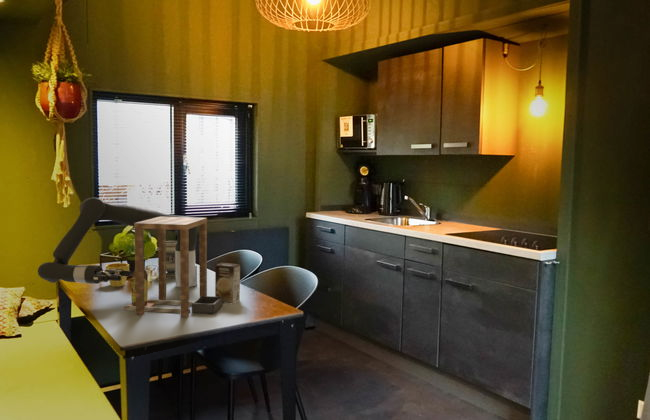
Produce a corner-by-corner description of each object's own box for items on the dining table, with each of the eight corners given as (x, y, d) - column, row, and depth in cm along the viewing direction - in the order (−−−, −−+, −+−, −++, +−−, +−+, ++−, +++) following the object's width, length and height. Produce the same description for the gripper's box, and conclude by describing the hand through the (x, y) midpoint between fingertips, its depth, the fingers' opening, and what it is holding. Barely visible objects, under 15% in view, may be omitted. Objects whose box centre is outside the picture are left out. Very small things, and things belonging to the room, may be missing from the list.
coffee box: (214, 301, 236) (214, 264, 234) (221, 298, 242) (221, 262, 240) (233, 304, 233) (233, 266, 231) (240, 300, 239) (240, 263, 237)
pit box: (191, 313, 218) (191, 303, 218) (201, 305, 230) (201, 295, 230) (213, 314, 217) (213, 304, 217) (222, 306, 229) (222, 296, 229)
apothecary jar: (154, 276, 282) (153, 242, 281) (171, 272, 293) (171, 239, 291) (170, 279, 276) (170, 244, 274) (188, 275, 286) (188, 241, 285)
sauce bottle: (128, 307, 224) (128, 258, 222) (136, 303, 230) (135, 255, 228) (143, 307, 223) (143, 259, 221) (150, 303, 229) (150, 256, 227)
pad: (124, 309, 222) (124, 308, 222) (135, 302, 232) (134, 301, 232) (145, 310, 221) (145, 309, 221) (155, 303, 231) (155, 302, 231)
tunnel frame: (116, 314, 214) (114, 222, 211) (143, 298, 239) (142, 215, 236) (186, 317, 212) (186, 224, 208) (207, 301, 236) (207, 217, 233)
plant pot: (118, 288, 256) (118, 267, 255) (101, 286, 260) (100, 265, 259) (134, 284, 266) (133, 264, 265) (117, 281, 270) (116, 262, 269)
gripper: (78, 268, 220) (117, 270, 218) (96, 262, 234) (133, 263, 233) (78, 287, 221) (117, 288, 219) (97, 279, 235) (133, 281, 233)
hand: (125, 275), depth 226 cm, fingers open, 8 cm apart
